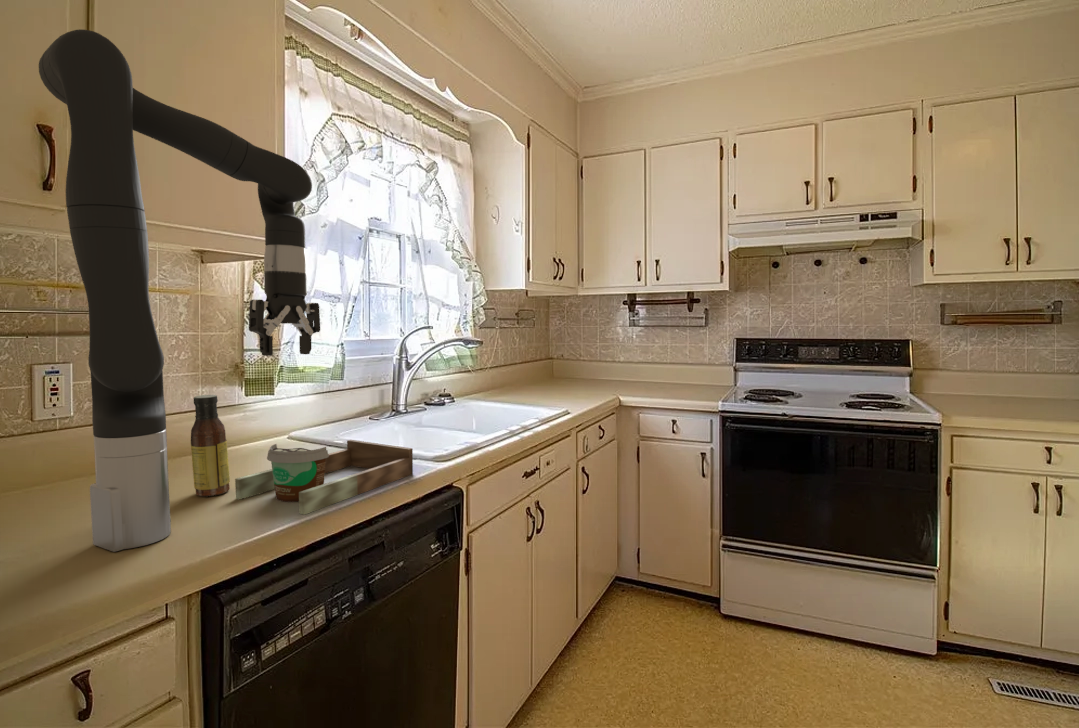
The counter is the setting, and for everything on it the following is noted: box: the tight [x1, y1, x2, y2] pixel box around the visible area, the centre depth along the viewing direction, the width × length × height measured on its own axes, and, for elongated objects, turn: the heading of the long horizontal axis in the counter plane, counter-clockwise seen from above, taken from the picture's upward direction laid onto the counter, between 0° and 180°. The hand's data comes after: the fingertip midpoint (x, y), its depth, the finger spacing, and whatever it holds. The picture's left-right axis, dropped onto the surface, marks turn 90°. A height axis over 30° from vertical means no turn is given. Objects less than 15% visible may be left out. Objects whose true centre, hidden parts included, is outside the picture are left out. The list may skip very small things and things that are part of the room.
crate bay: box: [234, 439, 414, 515], centre depth 117 cm, size 30×19×6 cm, turn 153°
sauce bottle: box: [190, 394, 231, 498], centre depth 110 cm, size 6×6×20 cm
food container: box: [266, 443, 329, 503], centre depth 108 cm, size 12×6×10 cm, turn 78°
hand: (286, 354), depth 107 cm, fingers open, 8 cm apart
